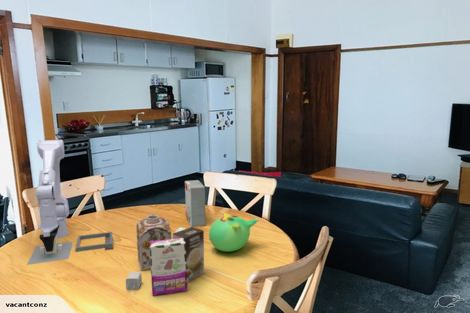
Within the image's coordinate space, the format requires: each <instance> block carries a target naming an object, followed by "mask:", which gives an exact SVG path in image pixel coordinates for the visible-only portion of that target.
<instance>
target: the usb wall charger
mask: <svg viewBox="0 0 470 313" xmlns="http://www.w3.org/2000/svg"><path fill="white" fill-rule="evenodd" d="M142 278H143V277H142V272H140V271H130V272H129V274H128V275H127V277H126V278H125V290H126V291H137V290H139V288H140V286H141V284H142V282H143V281H142V280H143V279H142Z"/></svg>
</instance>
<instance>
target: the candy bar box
mask: <svg viewBox="0 0 470 313" xmlns="http://www.w3.org/2000/svg"><path fill="white" fill-rule="evenodd" d="M150 262H151V269H150V276H151V278H150V279H151V293H152V296H153V297H156V296H163V295H169V294H175V293H176V294H177V293H181V292H182V293H183V292H188V282H187V267H186V244H185V241H184V238H177V239H173V238H172V239H168V240H160V241H152V242H150Z"/></svg>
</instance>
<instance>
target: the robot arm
mask: <svg viewBox="0 0 470 313" xmlns="http://www.w3.org/2000/svg"><path fill="white" fill-rule="evenodd" d="M36 144H37V145H36V148H37V153H38V155H39V158H41V160H42V164H43V167H42V168H43V169H42V170H40V172H39V175H38V176H39V178H38V186H36V189H35V196H36V201H37V205H38V208H39V218H40V225H38V226H37V229H38V230H41V231H42V233H43V234H40V235H39V239H40V241H41V242H42V244H43V245H44V246H45V249H46V252H52V251H53V246H54V239H55V236H56V233H57V239H61V238H64V237H66V236H68V234H70V230H68V229H67V228H68V227H67V226H68V225H67V218H68V216H69V214H70V207H69V202H68V199H67V198H65V197H63V196H62V195H61V194H62V192H61V177H60V176H61V175H60V173H61V172H60V162H61V160H62V159H64V158H65V143H64V141H63V140H62V139H50V140H48V139H47V140H38V141H37V143H36Z"/></svg>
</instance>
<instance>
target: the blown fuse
mask: <svg viewBox="0 0 470 313" xmlns="http://www.w3.org/2000/svg"><path fill="white" fill-rule="evenodd" d="M57 243H58V238H57V233H56V236H55V239H54V246H53V251H52V252H46V249H45V254H52V253H57V251H58V247H57Z"/></svg>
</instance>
